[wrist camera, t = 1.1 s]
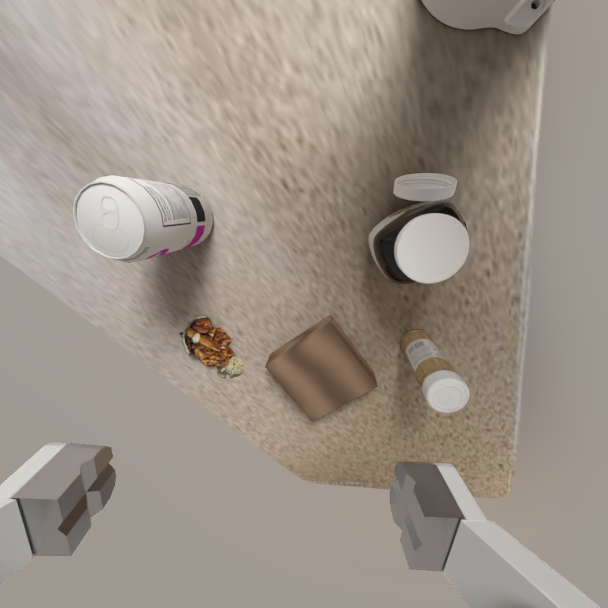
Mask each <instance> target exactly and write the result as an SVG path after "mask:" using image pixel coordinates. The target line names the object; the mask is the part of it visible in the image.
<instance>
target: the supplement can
mask: <svg viewBox="0 0 608 608" xmlns="http://www.w3.org/2000/svg"><path fill="white" fill-rule="evenodd" d="M73 217H74V221H75V225H76V228H77V230H78V232H79V234H80V235H81V237H82V239H83V241H84V242H85V243H86V244H87V245H88V246H89V247H90V248H91V249H92V250H94V251H95V252H97V253H99V254H101V255H102V256H104V257H108V258H112V259H114V260H118V261H123V262H127V263H130V262H136V261H141V260H145V259H149V258H152V257H156V256H159V255H163V254H167V253H170V252H174V251H177V250H181V249H184V248H188V247H192V246H195V245H198V244H200V243H201V242H203V241H204V240H205V239H206V238H207V237H208V235H209V234H210V232H211V228H212V224H213V217H212V211H211V208H210V206H209V204H208V201H207V200H206V199H205V198H204V197H203V195H202V194H201V193H200V192H198V191H197V190H195V189H193V188H192V187H188V186H183V185H177V184H170V183H162V182H155V181H148V180H141V179H134V178H127V177H120V176H113V175H110V176H106V177H101V178H98V179H96V180H95V181H94V182H92V183H89V184H87V185H86V186H85V187H84V188H82V189H81V190H80V191H79V192H78V194H77V197H76V199H75V201H74V208H73Z"/></svg>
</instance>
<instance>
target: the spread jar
mask: <svg viewBox="0 0 608 608" xmlns="http://www.w3.org/2000/svg"><path fill="white" fill-rule="evenodd" d="M456 185H457V179H456V178H454V177H452V176H449V175H444V174H437V173H415V174H408V175H403V176H400V177H398V178H396V179H395V181H394V190H393V193H394V195H396V196H397V197H399V198H402V199H406V200H412V201H426V202H421V203H418V204H414V205H411V206H408V207H406V208H403V209H401V210H398V211H396V212H394V213H393V214H391V215H389V216H388V217H386V218H385V219H384V220H382V221H381V222H380V223H378V224H377V225H376V226H375V227H374V228H373V229H372V231H371V232H370V234H369V239H368V241H369V247H370V251H371V254H372V257H373V259H374V261H375V263H376V264H377V266H378V268H379V269H380V270H381V272H382V273H383V274H384V276H385V277H386V278H387V279H388V280H390V281H392V282H394V283H397V284H409V283H415V282H420V283H427V284H432V283H438V282H441V281H444V280H446V279H448V278H450V277H451V276H453V275H454V274H455V273H456V272H457V271H458V270H459V269H460V268H461V267H462V266H463V264H464V262H465V261H466V258H467V256H468V253H469V247H470V244H469V236H468V233H467V229H466V224H465V222H464V220H463V218H462V216H461V215H460V213H459V211H458V210H457V209H456V207H455V206H454V205H453V204H452V203H450V202H448V201H445V200H443V199H447V198H450V197H452V196H453V195H454V193H455V189H456Z"/></svg>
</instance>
